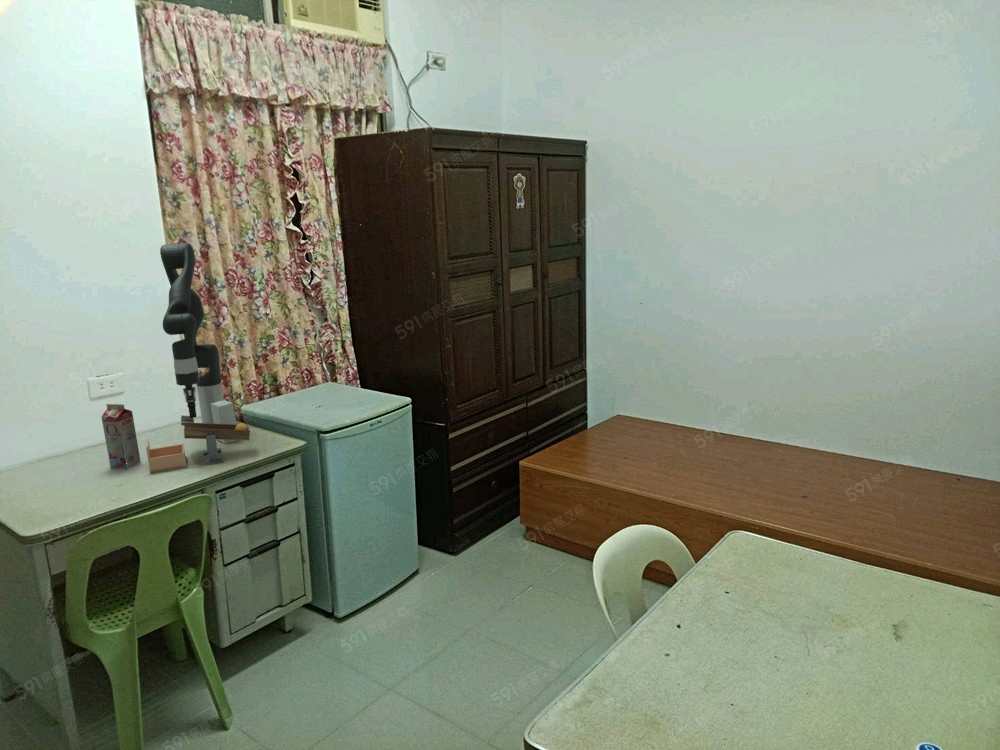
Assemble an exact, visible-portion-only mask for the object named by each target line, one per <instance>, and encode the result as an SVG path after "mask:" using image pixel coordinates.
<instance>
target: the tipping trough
mask: <svg viewBox="0 0 1000 750" xmlns="http://www.w3.org/2000/svg"><path fill="white" fill-rule="evenodd" d="M194 421H195V420H194V418H190V415H180V425H181V426H182V427H183V426H184V427H183V436H184V439H193V440H195V439H196V440H206V435H208V434H214V433H215V436H216V440H217V439H225V440H238V441H250V436H251V430H250V427H249V425H248V424H245V425H246V426H247V430H235V427H236V426H237V425H238V424H237V425H236V424H210V423H202V422H194Z"/></svg>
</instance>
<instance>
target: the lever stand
mask: <svg viewBox="0 0 1000 750" xmlns="http://www.w3.org/2000/svg"><path fill="white" fill-rule="evenodd" d="M205 442H206V450H202V451H203V452H202V453H203V456H208V459H205V460H204V465H205V466H208V465H214V464H218V463H219V464H220V463H224V462H225V461H224V457H223V456H222V457H219V454H220V453H222V448H221V447H219V448H218V445H217V439H216V436H215V433H214V434H208V435H206V439H205Z"/></svg>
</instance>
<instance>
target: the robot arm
mask: <svg viewBox="0 0 1000 750" xmlns="http://www.w3.org/2000/svg"><path fill="white" fill-rule="evenodd" d="M159 251H160V252H159V253H160V259H161V262H162V265H163V267H164V270H165V274H166V276H167V279H168V283H169V285H170V288H169V291H168V306H167V308H166V312H165V314H164V316H163V319H162V329H163V331H164V332H165V333H166V334H168V335H170V336H174V335H175V336H176V335H183V337H184V339H180V340H175V341H174V342H173V343H172V344H171V350H172V356H173V369H174V374H175V375H174V376H175V381H176V382H175V383H176V385H177V386H181V387H182V386H184V388H182V391H183V395H184V399H185V402H186V404H187V408H188V413H189V415H188V416H190V418H193V419H194V418H197V410H196V406H197V404H196V401H197V397H196V396H198V403H199V408H200V409H199V410H200V416H201V423H210V424H214V421H213V416H212V410H211V405H210V404H211V403H214V402H218V401H222V400H225V399H224V393H223V385H222V384H223V383H222V378H221V377H222V373H221V365H220V364H221V363H220V352H219V348H218V347H217V345H216V344H213V343H212V344H211V343H210V344H198V342H197V333H198V331H199V329H200V327H201V324H202V322H203V320H204V317H205V311H204V307H203V304H202V300H201V297H200V296H199V294H197V292H196V291H195V290H193V289H192V282H193V279H194V273H195V272H194V270H195V265H196V255H195V254H196V253H195V251H194V248H193V246H192V245H191V244H190V243H189V242H179V243H168V244H162V245H161V246H160V249H159ZM180 269H182V270H181V272H180V274H179V273H178V270H180ZM206 368H208V372H207V373H205V374H203V375H200V374H199V369H206ZM193 385H196V387H195V386H193ZM196 388H197V389H196ZM196 390H197V392H196ZM196 393H197V395H196Z"/></svg>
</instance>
